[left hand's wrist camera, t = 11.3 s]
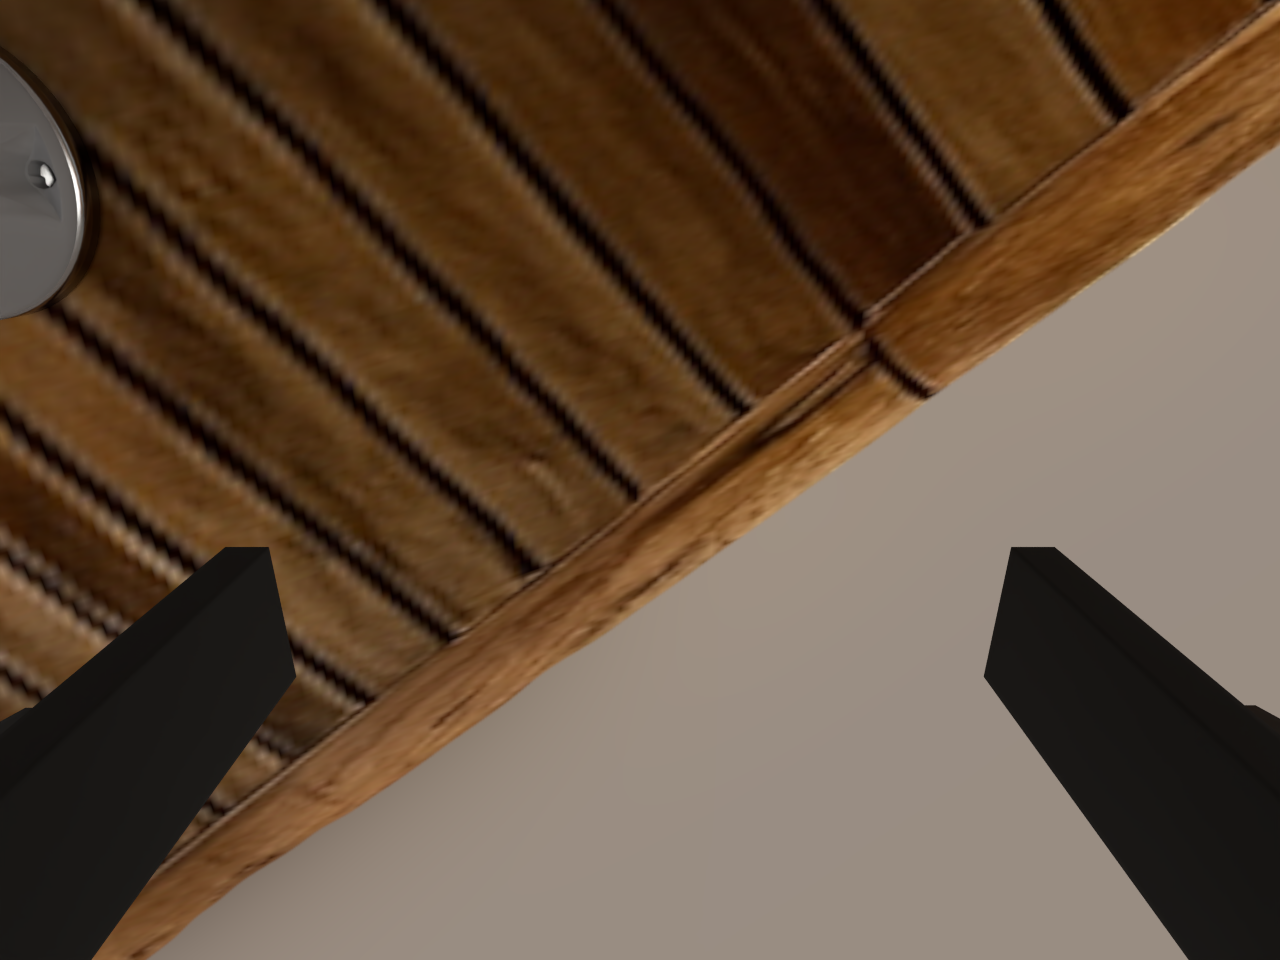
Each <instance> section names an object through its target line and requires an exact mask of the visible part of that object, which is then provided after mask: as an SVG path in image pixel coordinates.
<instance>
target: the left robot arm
mask: <svg viewBox="0 0 1280 960" xmlns="http://www.w3.org/2000/svg"><path fill="white" fill-rule="evenodd" d="M99 229H100V202H99V194H98V188H97V183H96V178H95V175H94V171H93V168H92V165H91V161H90V159H89V156H88V154H87V151H86V149H85V146H84V144H83V142H82V140H81V138H80V136H79V134H78V132H77V130H76V128H75V127H74V125H73V123H72V121H71V120H70V118H69V116H68V115H67V113H66V112H65V111H64V109H63V108H62V106H61V105H60V103H59V102H58V101H57V99H56V98H55V97H54V96H53V94H52V93H51V92H50V91H49V89H48V88H47V87H46V86H45V85H44V84H43V83H42V82H41V81H40V80H39V78H38V77H37V76H36V75H35V74H34V73H32V72H31V71H30V70H29V69H28V68H27V67H26V66H25V65H24V64H23V63H22V62H20V61H19V60H18V59H17V58H15V57H14V56H13V55H12V54H10V53H9V52H8V51H6V50H5V49H3V48H2V47H0V320H1V319H7V318H12V317H18V316H23V315H28V314H31V313H35V312H38V311H41V310H43V309H46V308H48V307H50V306H52V305H53V304H55V303H57V302H59V301H60V300H61V299H63V298H64V297H65V296H67V295H68V294H69V293H70V292H71V291H72V290H73V289H74V288H75V287H76V286H77V284H78V283H79V282H80V281H81V279H82V278H83V276H84V275H85V273H86V271H87V270H88V268H89V266H90V264H91V261H92V259H93V256H94V253H95V250H96V247H97V242H98V237H99ZM295 678H296V673H295V669H294V664H293V659H292V654H291V650H290V645H289V640H288V636H287V631H286V626H285V621H284V617H283V612H282V607H281V603H280V598H279V593H278V589H277V584H276V579H275V574H274V570H273V565H272V560H271V556H270V551H269V547H225V548H224V549H223V550H221V551H220V552H219V553H218V554H217V555H215V556H214V557H213V558H212V559H211V560H209V561H208V562H207V563H206V564H205V565H203V566H202V567H201V568H200V569H199V570H197V571H196V572H195V573H194V574H193V575H191V576H190V577H189V578H188V579H187V580H185V581H184V582H183V583H182V584H181V585H179V586H178V587H177V588H176V589H175V590H173V591H172V592H171V593H170V594H169V595H167V596H166V597H165V598H164V599H163V600H161V601H160V602H159V603H158V604H157V605H155V606H154V607H153V608H152V609H151V610H149V611H148V612H147V613H146V614H145V615H143V616H142V617H141V618H140V619H139V620H137V621H136V622H135V623H134V624H133V625H131V626H130V627H129V628H128V629H127V630H125V631H124V632H123V633H122V634H121V635H119V636H118V637H117V638H116V639H115V640H113V641H112V642H111V643H110V644H109V645H107V646H106V647H105V648H104V649H103V650H101V651H100V652H99V653H98V654H97V655H95V656H94V657H93V658H92V659H91V660H89V661H88V662H87V663H86V664H85V665H83V666H82V667H81V668H80V669H79V670H77V671H76V672H75V673H74V674H73V675H71V676H70V677H69V678H68V679H67V680H65V681H64V682H63V683H62V684H61V685H59V686H58V687H57V688H56V689H55V690H53V691H52V692H51V693H50V694H49V695H47V696H46V697H45V698H44V699H43V700H41V701H40V702H39V703H38V704H37V705H35V706H34V707H33V708H24V709H23V710H21V711H19V712H17V713H15V714H13V715H12V716H10V717H8V718H6V719H4V720H3V721H1V722H0V960H92V958H93V957H94V955H95V954H96V953H97V951H98V950H99V948H100V947H101V946H102V944H103V943H104V942H105V940H106V939H107V937H108V936H109V935H110V933H111V932H112V931H113V929H114V928H115V926H116V925H117V924H118V922H119V921H120V919H121V918H122V917H123V915H124V914H125V913H126V911H127V910H128V908H129V907H130V906H131V904H132V903H133V902H134V900H135V899H136V897H137V896H138V895H139V893H140V892H141V890H142V889H143V888H144V886H145V885H146V884H147V882H148V881H149V879H150V878H151V877H152V875H153V874H154V872H155V871H156V870H157V868H158V867H159V866H160V864H161V863H162V861H163V860H164V859H165V857H166V856H167V855H168V853H169V852H170V850H171V849H172V848H173V846H174V845H175V843H176V842H177V841H178V839H179V838H180V837H181V835H182V834H183V832H184V831H185V830H186V828H187V827H188V826H189V824H190V823H191V821H192V820H193V819H194V817H195V816H196V814H197V813H198V812H199V810H200V809H201V808H202V806H203V805H204V803H205V802H206V801H207V799H208V798H209V796H210V795H211V794H212V792H213V791H214V790H215V788H216V787H217V785H218V784H219V783H220V781H221V780H222V779H223V777H224V776H225V774H226V773H227V772H228V770H229V769H230V767H231V766H232V765H233V763H234V762H235V761H236V759H237V758H238V756H239V755H240V754H241V752H242V751H243V749H244V748H245V747H246V745H247V744H248V743H249V741H250V740H251V738H252V737H253V736H254V734H255V733H256V732H257V730H258V729H259V727H260V726H261V725H262V723H263V722H264V720H265V719H266V718H267V716H268V715H269V714H270V712H271V711H272V709H273V708H274V707H275V705H276V704H277V703H278V701H279V700H280V698H281V697H282V696H283V694H284V693H285V691H286V690H287V689H288V687H289V686H290V685H291V683H292V682H293V680H294V679H295ZM984 678H985V679H986V680H987V682H988V683H989V685H990V686H991V687H992V689H993V690H994V691H995V693H996V694H997V696H998V697H999V698H1000V700H1001V701H1002V703H1003V704H1004V705H1005V707H1006V708H1007V709H1008V711H1009V712H1010V713H1011V715H1012V716H1013V718H1014V719H1015V720H1016V722H1017V723H1018V725H1019V726H1020V727H1021V729H1022V730H1023V732H1024V733H1025V734H1026V736H1027V737H1028V738H1029V740H1030V741H1031V743H1032V744H1033V745H1034V747H1035V748H1036V749H1037V751H1038V752H1039V754H1040V755H1041V756H1042V758H1043V759H1044V761H1045V762H1046V763H1047V765H1048V766H1049V767H1050V769H1051V770H1052V772H1053V773H1054V774H1055V776H1056V777H1057V778H1058V780H1059V781H1060V783H1061V784H1062V785H1063V787H1064V788H1065V789H1066V791H1067V792H1068V794H1069V795H1070V796H1071V798H1072V799H1073V801H1074V802H1075V803H1076V805H1077V806H1078V807H1079V809H1080V810H1081V812H1082V813H1083V814H1084V816H1085V817H1086V819H1087V820H1088V821H1089V823H1090V824H1091V825H1092V827H1093V828H1094V830H1095V831H1096V832H1097V834H1098V835H1099V837H1100V838H1101V839H1102V841H1103V842H1104V843H1105V845H1106V846H1107V848H1108V849H1109V850H1110V852H1111V853H1112V855H1113V856H1114V857H1115V859H1116V860H1117V861H1118V863H1119V864H1120V866H1121V867H1122V868H1123V870H1124V871H1125V872H1126V874H1127V875H1128V877H1129V878H1130V879H1131V881H1132V882H1133V884H1134V885H1135V886H1136V888H1137V889H1138V890H1139V892H1140V893H1141V895H1142V896H1143V897H1144V899H1145V900H1146V901H1147V903H1148V904H1149V906H1150V907H1151V908H1152V910H1153V911H1154V913H1155V914H1156V915H1157V917H1158V918H1159V919H1160V921H1161V922H1162V924H1163V925H1164V926H1165V928H1166V929H1167V931H1168V932H1169V933H1170V935H1171V936H1172V937H1173V939H1174V940H1175V942H1176V943H1177V944H1178V946H1179V947H1180V948H1181V950H1182V951H1183V953H1184V954H1185V955H1186V957H1187V958H1188V960H1280V719H1279V718H1278V717H1276V716H1274V715H1272V714H1270V713H1268V712H1267V711H1265V710H1263V709H1261V708H1259V707H1257V706H1256V705H1243V704H1242V703H1241V702H1240V701H1239V700H1237V699H1236V698H1235V697H1234V696H1233V695H1231V694H1230V693H1229V692H1228V691H1227V690H1225V689H1224V688H1223V687H1222V686H1221V685H1219V684H1218V683H1217V682H1216V681H1215V680H1213V679H1212V678H1211V677H1210V676H1209V675H1207V674H1206V673H1205V672H1204V671H1203V670H1201V669H1200V668H1199V667H1198V666H1197V665H1195V664H1194V663H1193V662H1192V661H1191V660H1189V659H1188V658H1187V657H1186V656H1185V655H1183V654H1182V653H1181V652H1180V651H1179V650H1177V649H1176V648H1175V647H1174V646H1173V645H1171V644H1170V643H1169V642H1168V641H1167V640H1165V639H1164V638H1163V637H1162V636H1160V635H1159V634H1158V633H1157V632H1156V631H1155V630H1153V629H1152V628H1151V627H1150V626H1149V625H1147V624H1146V623H1145V622H1144V621H1143V620H1141V619H1140V618H1139V617H1138V616H1137V615H1135V614H1134V613H1133V612H1132V611H1131V610H1129V609H1128V608H1127V607H1126V606H1125V605H1123V604H1122V603H1121V602H1120V601H1119V600H1117V599H1116V598H1115V597H1114V596H1113V595H1111V594H1110V593H1109V592H1108V591H1107V590H1105V589H1104V588H1103V587H1102V586H1101V585H1099V584H1098V583H1097V582H1096V581H1095V580H1093V579H1092V578H1091V577H1090V576H1089V575H1087V574H1086V573H1085V572H1084V571H1083V570H1081V569H1080V568H1079V567H1078V566H1077V565H1075V564H1074V563H1073V562H1072V561H1071V560H1069V559H1068V558H1067V557H1066V556H1065V555H1063V554H1062V553H1061V552H1060V551H1059V550H1057V549H1056V548H1055V547H1011V551H1010V556H1009V560H1008V565H1007V570H1006V575H1005V579H1004V584H1003V589H1002V593H1001V598H1000V603H999V607H998V612H997V617H996V622H995V626H994V631H993V636H992V641H991V645H990V650H989V655H988V659H987V664H986V669H985V673H984Z"/></svg>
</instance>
